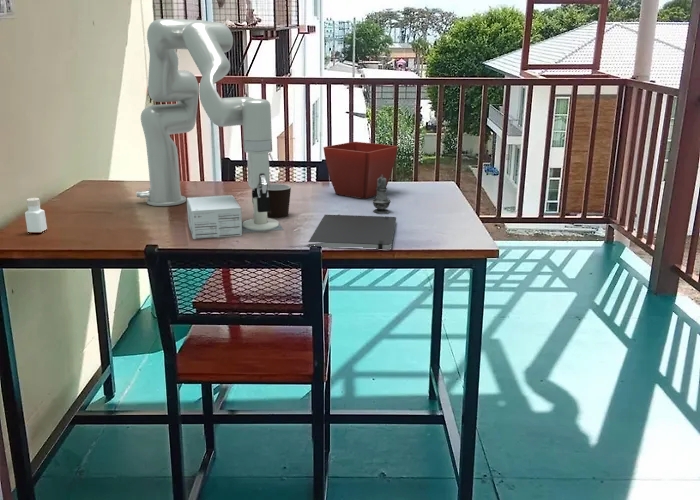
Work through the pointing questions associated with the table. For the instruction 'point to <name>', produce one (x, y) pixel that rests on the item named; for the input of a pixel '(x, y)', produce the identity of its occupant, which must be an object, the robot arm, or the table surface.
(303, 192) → the table surface
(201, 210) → the supplement box
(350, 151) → the plant pot
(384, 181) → the grey stone figurine
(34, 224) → the salt shaker
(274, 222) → the lid
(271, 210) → the coffee mug
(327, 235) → the notebook
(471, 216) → the table surface
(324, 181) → the table surface
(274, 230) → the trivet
